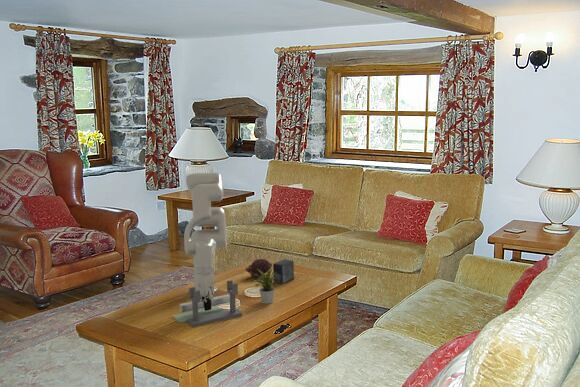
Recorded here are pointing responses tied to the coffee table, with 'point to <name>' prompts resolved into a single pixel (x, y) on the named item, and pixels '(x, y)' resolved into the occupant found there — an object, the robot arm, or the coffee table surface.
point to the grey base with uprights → (216, 317)
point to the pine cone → (259, 267)
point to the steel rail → (215, 301)
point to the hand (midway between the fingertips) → (206, 308)
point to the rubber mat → (201, 312)
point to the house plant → (266, 287)
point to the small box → (283, 271)
